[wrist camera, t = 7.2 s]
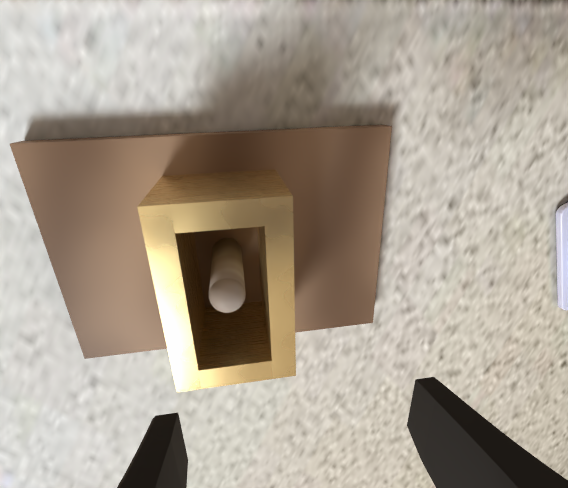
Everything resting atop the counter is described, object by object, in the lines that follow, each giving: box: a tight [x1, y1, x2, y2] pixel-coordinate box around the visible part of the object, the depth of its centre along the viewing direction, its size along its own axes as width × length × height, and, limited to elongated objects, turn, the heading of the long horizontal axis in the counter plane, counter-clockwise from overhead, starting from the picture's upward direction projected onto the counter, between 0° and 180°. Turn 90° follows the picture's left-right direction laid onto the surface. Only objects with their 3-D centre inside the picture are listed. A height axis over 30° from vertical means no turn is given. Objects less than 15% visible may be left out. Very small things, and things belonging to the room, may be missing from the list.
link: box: [137, 169, 296, 392], centre depth 15 cm, size 8×5×4 cm, turn 1°
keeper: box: [10, 125, 392, 359], centre depth 15 cm, size 16×11×6 cm
